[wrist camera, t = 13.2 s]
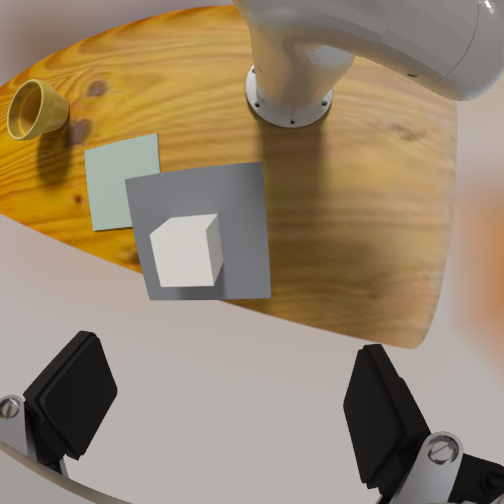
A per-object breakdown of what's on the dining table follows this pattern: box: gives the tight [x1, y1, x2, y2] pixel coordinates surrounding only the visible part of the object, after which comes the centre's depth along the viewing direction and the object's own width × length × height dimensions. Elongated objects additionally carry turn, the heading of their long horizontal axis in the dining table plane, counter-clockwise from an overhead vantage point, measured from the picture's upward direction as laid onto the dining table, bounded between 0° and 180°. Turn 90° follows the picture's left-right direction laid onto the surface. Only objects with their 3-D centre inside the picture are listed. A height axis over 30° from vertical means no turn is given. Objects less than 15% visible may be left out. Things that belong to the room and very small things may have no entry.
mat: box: [85, 133, 161, 231], centre depth 40 cm, size 14×14×1 cm
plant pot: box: [7, 79, 69, 140], centre depth 31 cm, size 10×10×10 cm
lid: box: [125, 162, 271, 300], centre depth 24 cm, size 13×13×6 cm
